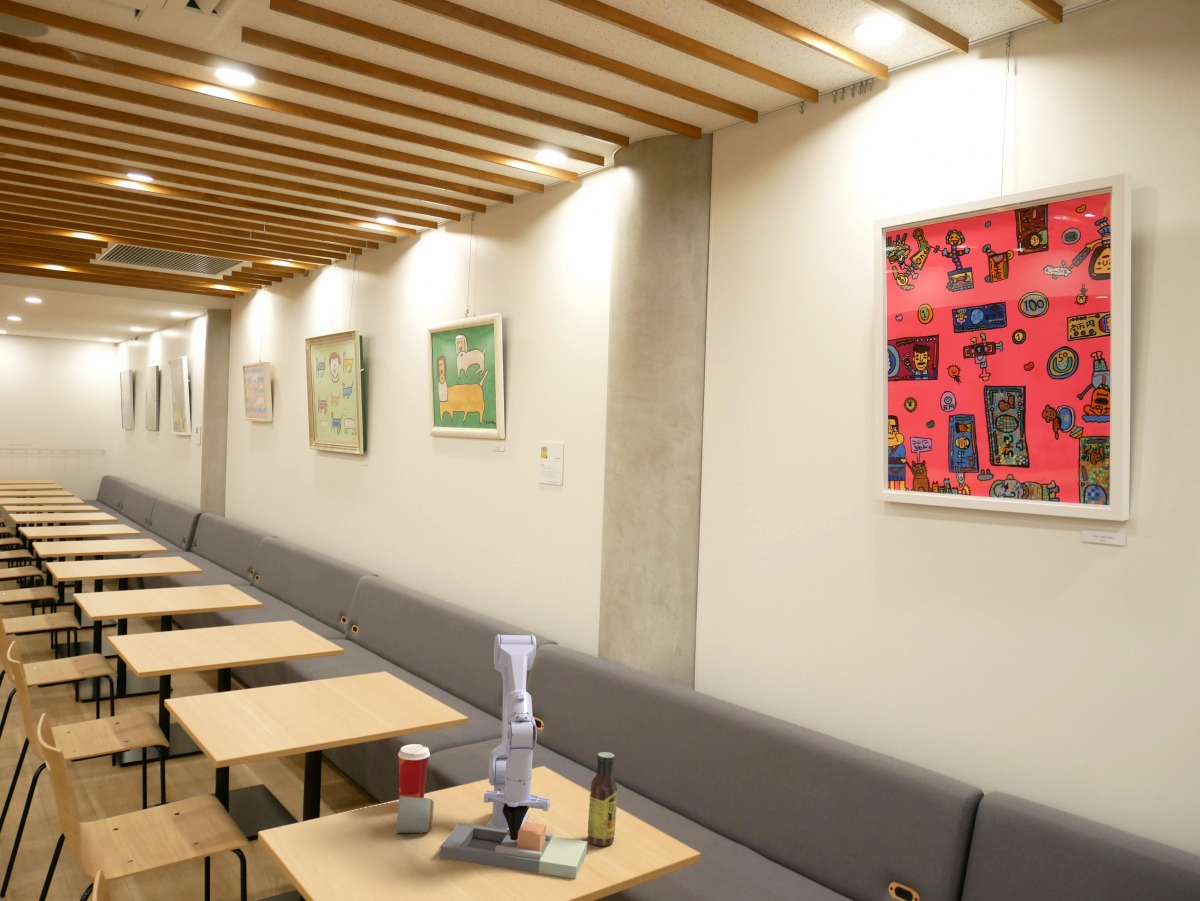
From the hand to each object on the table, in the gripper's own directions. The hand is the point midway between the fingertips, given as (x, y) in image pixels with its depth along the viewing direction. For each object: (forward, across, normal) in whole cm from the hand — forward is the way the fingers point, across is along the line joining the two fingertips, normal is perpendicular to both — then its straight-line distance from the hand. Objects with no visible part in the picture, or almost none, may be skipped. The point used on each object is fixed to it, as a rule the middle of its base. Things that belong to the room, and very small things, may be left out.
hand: (514, 838), depth 191 cm
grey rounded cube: (+4, -26, +6) cm, 27 cm away
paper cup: (+4, -31, +16) cm, 35 cm away
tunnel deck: (+4, 0, 0) cm, 4 cm away
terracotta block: (+1, +4, 0) cm, 4 cm away
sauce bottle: (+4, +17, +13) cm, 22 cm away
